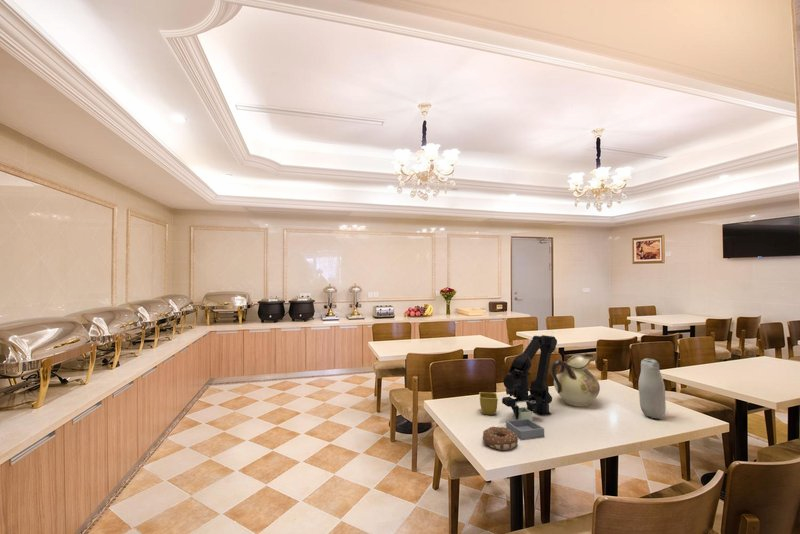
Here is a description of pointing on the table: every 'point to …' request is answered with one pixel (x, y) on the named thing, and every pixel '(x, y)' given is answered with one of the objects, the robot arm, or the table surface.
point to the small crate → (524, 414)
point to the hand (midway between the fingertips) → (522, 418)
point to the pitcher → (575, 381)
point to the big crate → (525, 429)
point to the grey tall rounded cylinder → (651, 389)
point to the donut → (500, 438)
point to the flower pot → (488, 402)
